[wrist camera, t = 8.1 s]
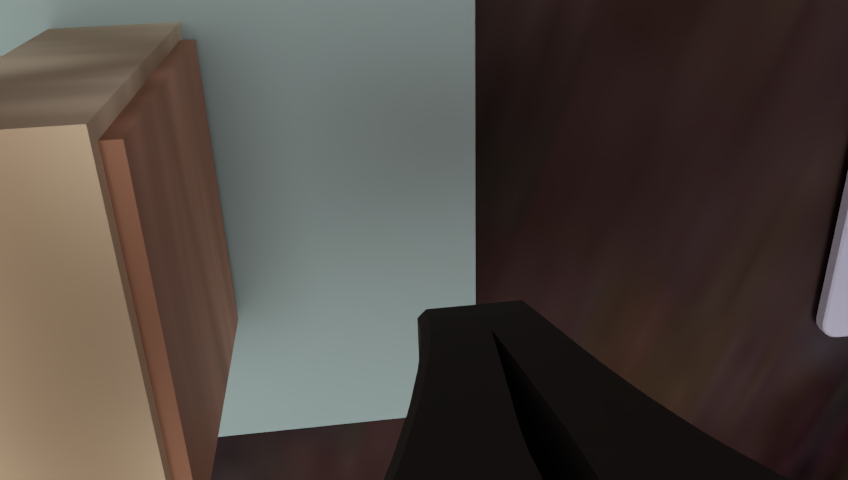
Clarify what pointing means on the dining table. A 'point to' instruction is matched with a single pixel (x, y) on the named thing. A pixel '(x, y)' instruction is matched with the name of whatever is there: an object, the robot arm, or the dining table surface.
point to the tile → (110, 259)
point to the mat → (324, 186)
